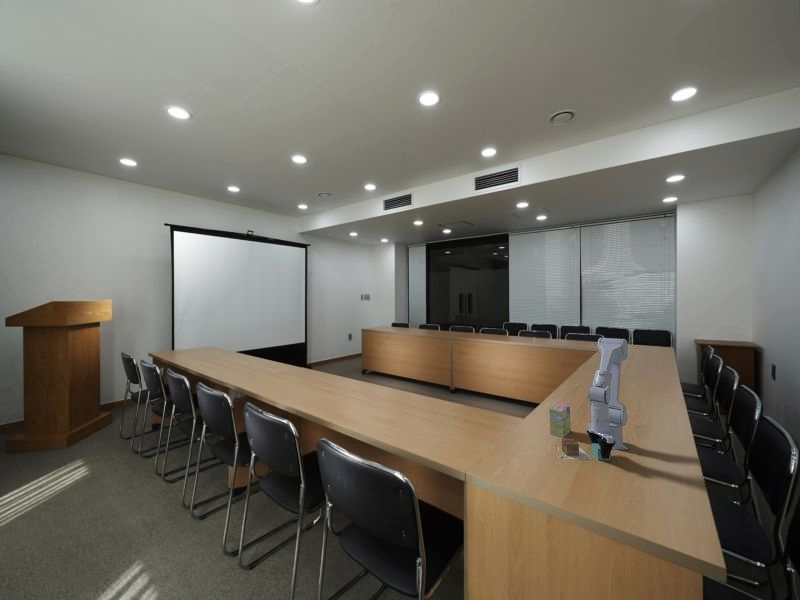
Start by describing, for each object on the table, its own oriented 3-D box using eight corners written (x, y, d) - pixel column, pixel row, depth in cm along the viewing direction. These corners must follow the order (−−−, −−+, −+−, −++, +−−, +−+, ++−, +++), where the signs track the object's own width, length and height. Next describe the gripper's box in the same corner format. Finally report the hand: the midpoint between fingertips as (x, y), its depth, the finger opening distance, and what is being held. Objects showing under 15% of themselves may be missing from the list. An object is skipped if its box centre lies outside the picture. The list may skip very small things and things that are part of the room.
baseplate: (549, 447, 132) (549, 446, 132) (580, 448, 131) (580, 447, 131) (559, 459, 122) (559, 458, 122) (592, 460, 121) (592, 459, 121)
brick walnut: (561, 450, 129) (561, 438, 129) (573, 450, 129) (573, 438, 129) (566, 455, 125) (566, 443, 125) (579, 456, 124) (578, 444, 124)
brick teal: (591, 455, 125) (591, 443, 125) (604, 455, 125) (603, 443, 125) (597, 461, 121) (597, 448, 121) (610, 461, 120) (610, 448, 120)
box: (558, 428, 152) (557, 403, 152) (571, 431, 148) (570, 405, 148) (549, 435, 145) (548, 408, 145) (562, 438, 141) (562, 411, 141)
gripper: (580, 411, 130) (581, 445, 130) (598, 425, 116) (599, 463, 116) (598, 411, 130) (599, 445, 130) (619, 425, 115) (620, 463, 115)
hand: (601, 454), depth 123 cm, fingers open, 6 cm apart
